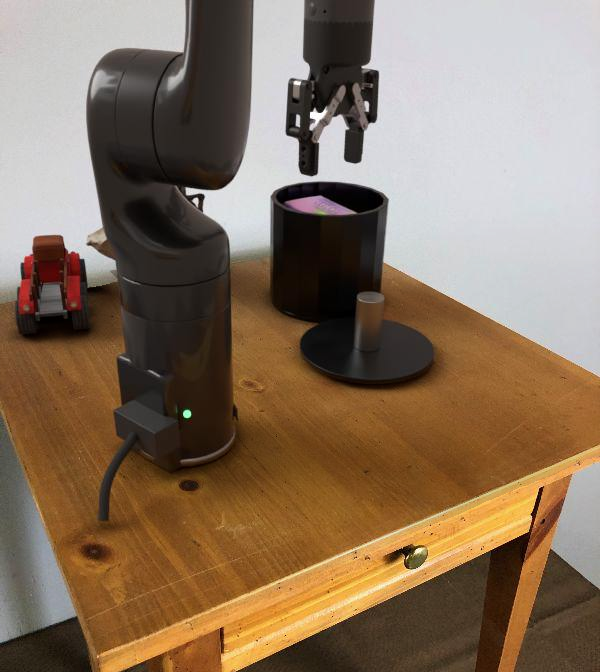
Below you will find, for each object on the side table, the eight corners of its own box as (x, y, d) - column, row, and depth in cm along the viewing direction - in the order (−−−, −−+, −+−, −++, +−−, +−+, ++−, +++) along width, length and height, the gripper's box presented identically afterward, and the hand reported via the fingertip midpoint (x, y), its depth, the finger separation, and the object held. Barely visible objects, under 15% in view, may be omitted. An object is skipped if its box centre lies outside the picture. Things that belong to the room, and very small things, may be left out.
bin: (335, 334, 90) (341, 224, 83) (247, 300, 98) (246, 197, 90) (401, 298, 99) (411, 197, 92) (316, 270, 107) (319, 174, 100)
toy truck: (87, 278, 102) (79, 220, 98) (90, 337, 88) (81, 271, 83) (26, 283, 101) (16, 223, 96) (19, 343, 86) (6, 276, 82)
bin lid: (383, 405, 77) (390, 342, 73) (271, 357, 85) (272, 298, 81) (457, 352, 87) (466, 295, 83) (351, 314, 95) (355, 260, 91)
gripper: (325, 21, 74) (318, 186, 82) (404, 15, 84) (391, 163, 92) (268, 15, 78) (267, 173, 86) (349, 10, 88) (342, 153, 96)
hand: (331, 168), depth 89 cm, fingers open, 8 cm apart
